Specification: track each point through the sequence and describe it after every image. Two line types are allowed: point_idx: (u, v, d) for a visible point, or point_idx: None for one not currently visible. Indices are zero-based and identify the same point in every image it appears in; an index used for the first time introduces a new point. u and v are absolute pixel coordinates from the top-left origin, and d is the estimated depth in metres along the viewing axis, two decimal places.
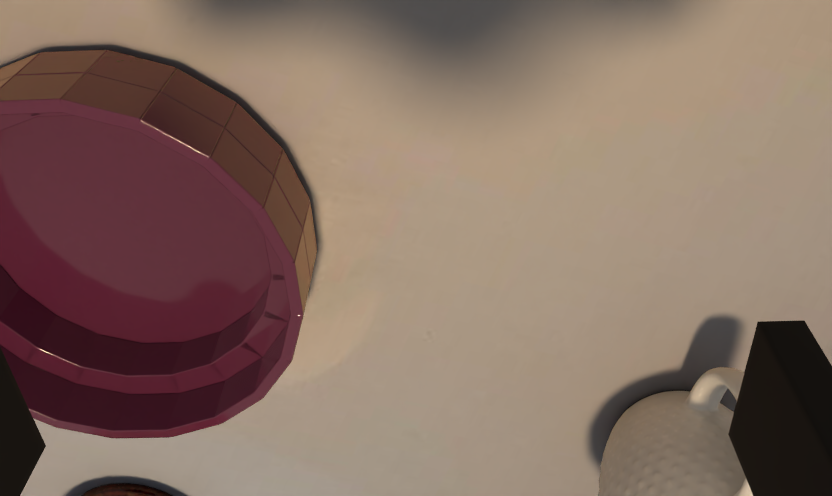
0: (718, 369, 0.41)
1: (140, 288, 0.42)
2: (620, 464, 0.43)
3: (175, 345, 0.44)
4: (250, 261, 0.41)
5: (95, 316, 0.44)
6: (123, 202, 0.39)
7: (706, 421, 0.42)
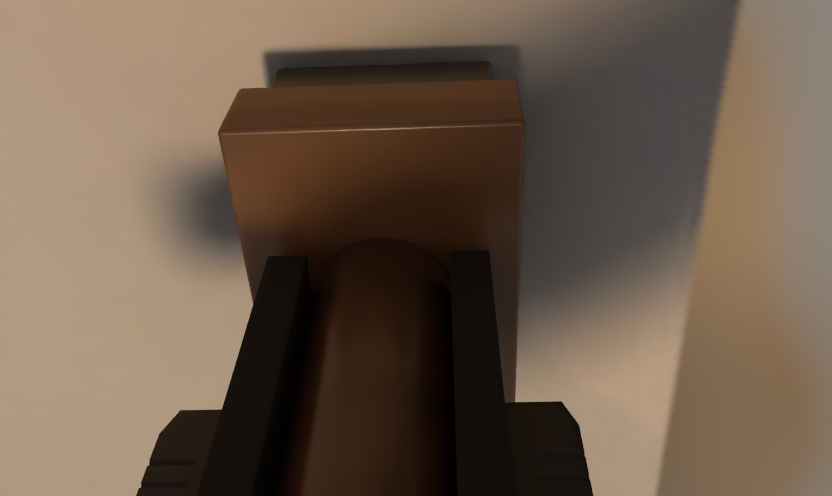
0: None
1: None
2: None
3: None
4: None
5: None
6: None
7: None
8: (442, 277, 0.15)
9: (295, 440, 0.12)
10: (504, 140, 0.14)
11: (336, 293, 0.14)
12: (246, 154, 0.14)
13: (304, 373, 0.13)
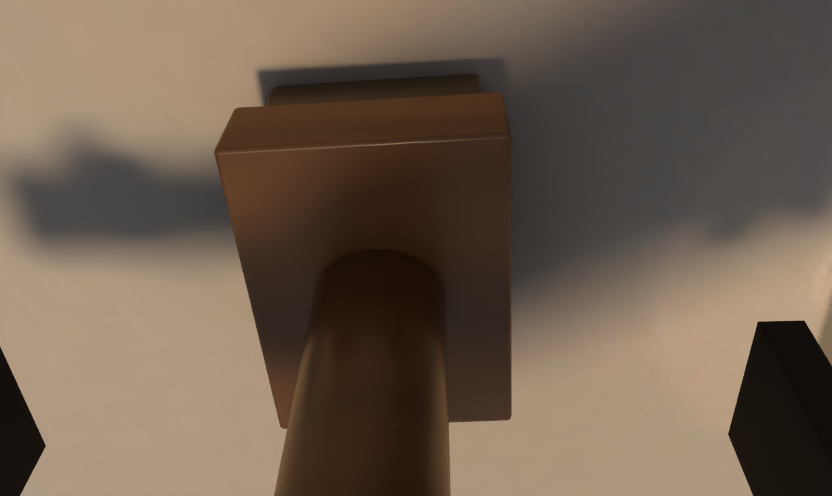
0: None
1: None
2: None
3: None
4: None
5: None
6: None
7: None
8: (435, 286, 0.16)
9: (292, 448, 0.12)
10: (490, 153, 0.15)
11: (331, 304, 0.15)
12: (242, 172, 0.15)
13: (301, 383, 0.14)
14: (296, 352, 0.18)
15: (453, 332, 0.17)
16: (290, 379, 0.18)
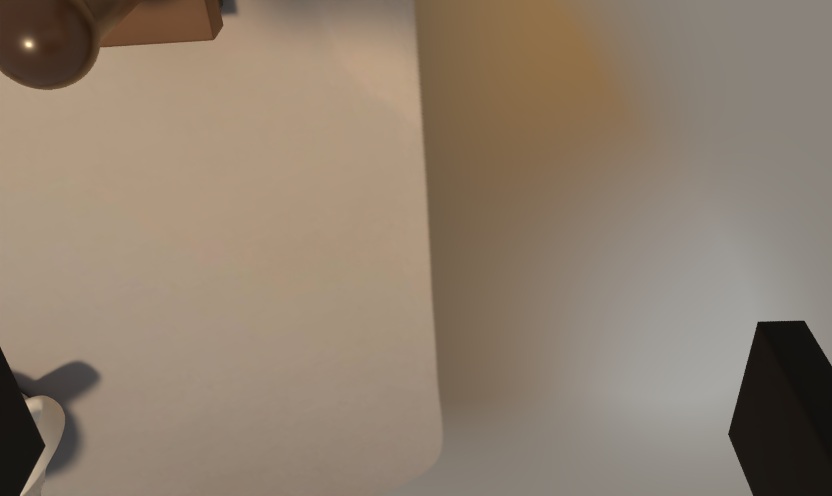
0: (48, 400, 0.50)
1: None
2: None
3: None
4: None
5: None
6: None
7: None
8: None
9: None
10: None
11: None
12: None
13: None
14: None
15: None
16: None
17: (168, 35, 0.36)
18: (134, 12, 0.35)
